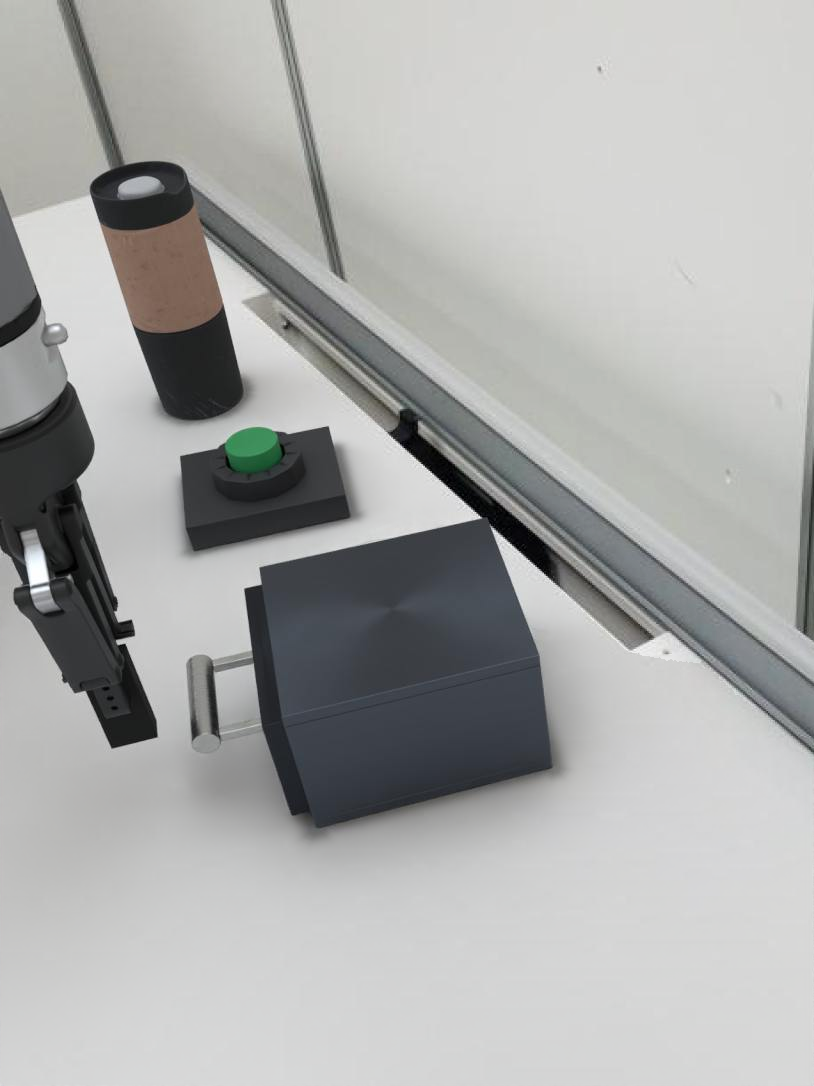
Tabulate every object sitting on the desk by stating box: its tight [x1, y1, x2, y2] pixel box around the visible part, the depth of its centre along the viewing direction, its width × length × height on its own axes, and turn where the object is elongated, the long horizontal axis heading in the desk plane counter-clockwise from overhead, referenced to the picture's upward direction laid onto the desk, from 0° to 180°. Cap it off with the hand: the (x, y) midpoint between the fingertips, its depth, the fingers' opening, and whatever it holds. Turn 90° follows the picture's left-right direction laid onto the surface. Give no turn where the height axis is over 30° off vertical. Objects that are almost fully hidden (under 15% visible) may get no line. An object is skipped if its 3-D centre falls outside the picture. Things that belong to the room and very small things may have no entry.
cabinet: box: [258, 517, 553, 829], centre depth 79 cm, size 15×14×10 cm
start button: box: [225, 426, 282, 473], centre depth 98 cm, size 4×4×2 cm
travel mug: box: [89, 160, 244, 421], centre depth 106 cm, size 8×8×20 cm
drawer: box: [185, 584, 311, 817], centre depth 78 cm, size 18×12×8 cm
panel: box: [179, 425, 351, 551], centre depth 100 cm, size 12×10×4 cm
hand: (134, 734), depth 77 cm, fingers closed
